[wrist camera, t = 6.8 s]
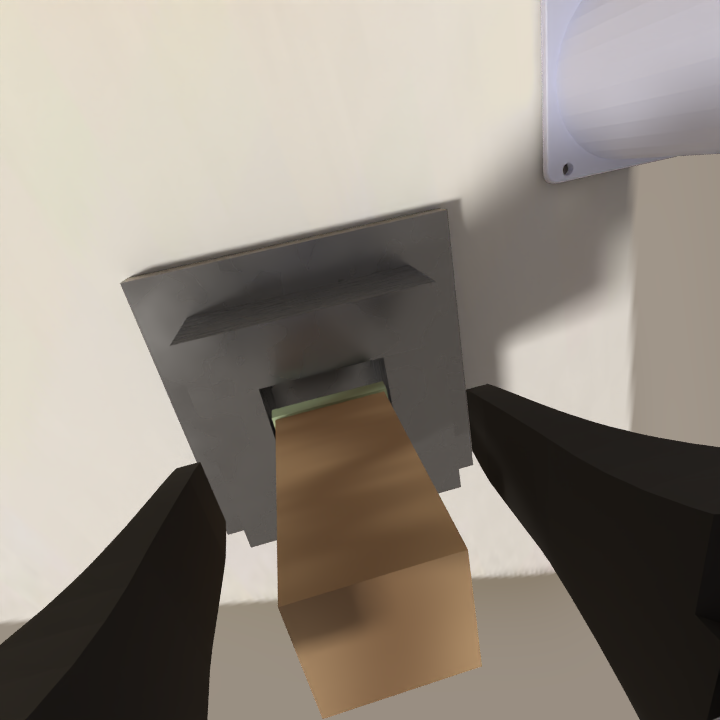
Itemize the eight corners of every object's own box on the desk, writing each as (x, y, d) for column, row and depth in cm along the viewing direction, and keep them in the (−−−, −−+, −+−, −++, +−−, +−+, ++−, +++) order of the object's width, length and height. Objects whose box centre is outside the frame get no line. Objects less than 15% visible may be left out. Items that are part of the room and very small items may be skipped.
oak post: (382, 381, 16) (471, 544, 9) (399, 469, 18) (486, 667, 11) (271, 409, 16) (271, 605, 9) (299, 498, 18) (319, 722, 10)
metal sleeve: (438, 208, 20) (489, 216, 15) (465, 454, 26) (508, 515, 21) (127, 278, 19) (79, 310, 14) (229, 521, 24) (219, 602, 20)
